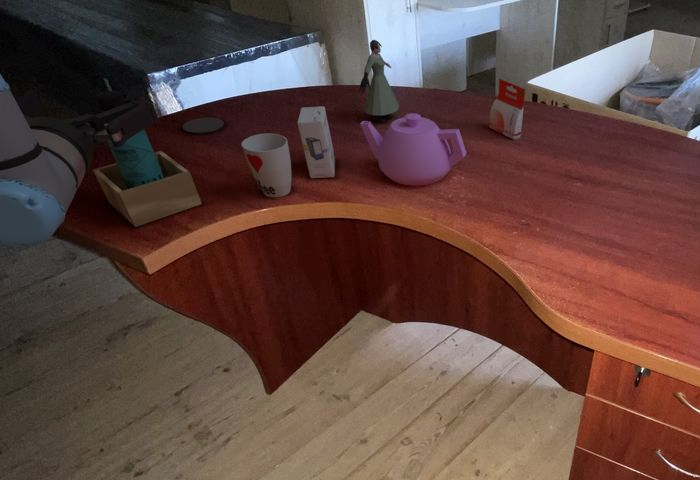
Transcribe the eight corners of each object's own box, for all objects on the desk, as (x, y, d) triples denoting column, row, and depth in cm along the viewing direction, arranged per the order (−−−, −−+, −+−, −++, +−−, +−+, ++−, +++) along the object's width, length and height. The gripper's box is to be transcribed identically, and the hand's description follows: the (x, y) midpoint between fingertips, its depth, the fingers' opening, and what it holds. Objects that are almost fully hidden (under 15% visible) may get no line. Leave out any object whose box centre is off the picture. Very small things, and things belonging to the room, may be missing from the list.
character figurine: (382, 134, 129) (373, 53, 116) (351, 129, 130) (339, 47, 118) (409, 111, 140) (404, 34, 128) (380, 106, 141) (372, 30, 129)
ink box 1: (334, 178, 112) (324, 121, 104) (309, 179, 111) (296, 122, 103) (336, 160, 118) (326, 105, 110) (311, 160, 117) (300, 105, 109)
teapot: (472, 162, 121) (473, 107, 112) (457, 195, 109) (457, 137, 101) (378, 150, 123) (372, 96, 114) (354, 182, 111) (345, 123, 103)
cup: (249, 188, 107) (234, 139, 100) (288, 177, 111) (276, 130, 104) (265, 205, 103) (251, 155, 96) (305, 193, 107) (294, 144, 100)
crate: (108, 202, 101) (92, 169, 97) (173, 181, 108) (160, 150, 103) (135, 227, 96) (119, 194, 91) (202, 204, 102) (190, 172, 98)
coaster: (176, 125, 127) (175, 123, 127) (213, 116, 132) (212, 114, 132) (194, 137, 123) (193, 135, 123) (231, 127, 128) (230, 125, 128)
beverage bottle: (135, 198, 103) (84, 89, 89) (173, 192, 105) (129, 84, 91) (136, 214, 99) (83, 102, 85) (176, 207, 101) (130, 97, 87)
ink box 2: (513, 141, 130) (517, 91, 122) (488, 128, 135) (490, 80, 127) (522, 138, 131) (526, 89, 124) (497, 125, 136) (499, 77, 128)
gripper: (-53, 197, 65) (4, 128, 80) (172, 176, 72) (188, 116, 86) (-98, 136, 60) (-28, 74, 75) (149, 120, 66) (170, 66, 81)
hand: (88, 96), depth 80 cm, fingers open, 13 cm apart
